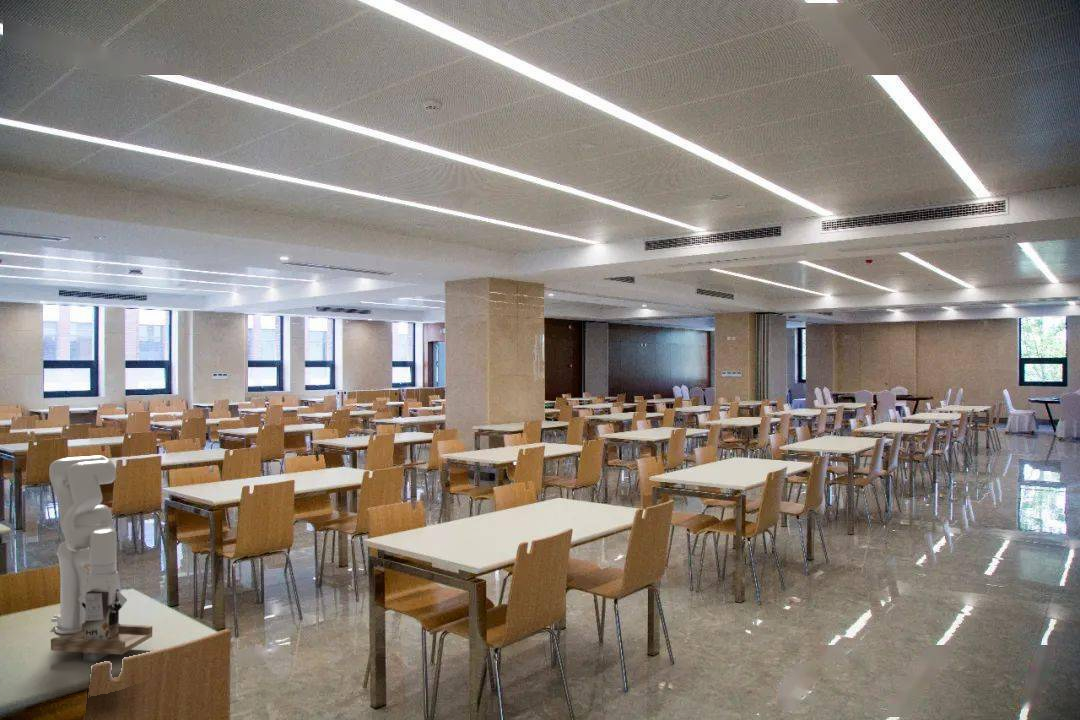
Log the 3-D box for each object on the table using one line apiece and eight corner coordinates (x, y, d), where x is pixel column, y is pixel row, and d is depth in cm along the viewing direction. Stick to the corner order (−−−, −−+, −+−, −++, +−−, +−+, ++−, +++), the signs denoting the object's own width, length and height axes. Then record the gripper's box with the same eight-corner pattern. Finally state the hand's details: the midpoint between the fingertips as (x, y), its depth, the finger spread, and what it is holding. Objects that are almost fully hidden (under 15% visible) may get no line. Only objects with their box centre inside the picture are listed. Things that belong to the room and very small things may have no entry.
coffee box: (104, 643, 236) (105, 593, 236) (83, 644, 235) (84, 593, 235) (119, 633, 245) (120, 584, 245) (99, 633, 244) (100, 584, 244)
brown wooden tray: (50, 661, 234) (50, 638, 234) (85, 643, 249) (85, 621, 249) (121, 665, 231) (122, 642, 231) (152, 647, 246) (152, 625, 246)
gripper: (69, 570, 237) (68, 626, 237) (120, 573, 235) (119, 629, 235) (86, 563, 245) (85, 617, 245) (135, 566, 243) (135, 620, 243)
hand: (102, 622), depth 240 cm, fingers closed on coffee box, 7 cm apart
